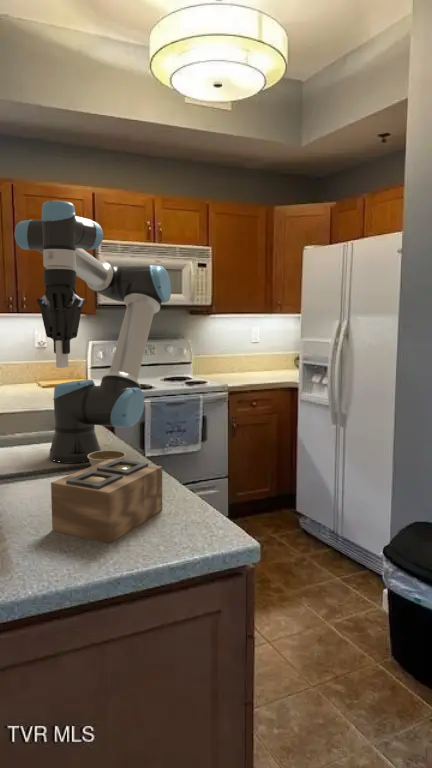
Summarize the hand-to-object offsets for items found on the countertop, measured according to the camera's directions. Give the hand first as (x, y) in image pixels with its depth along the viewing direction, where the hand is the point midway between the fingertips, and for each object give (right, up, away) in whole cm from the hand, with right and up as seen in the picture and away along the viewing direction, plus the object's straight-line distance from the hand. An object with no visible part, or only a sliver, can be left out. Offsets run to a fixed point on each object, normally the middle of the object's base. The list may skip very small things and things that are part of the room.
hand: (62, 367), depth 134 cm
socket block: (+15, -33, -17) cm, 40 cm away
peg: (+17, -31, -13) cm, 37 cm away
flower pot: (+10, -31, +4) cm, 32 cm away
